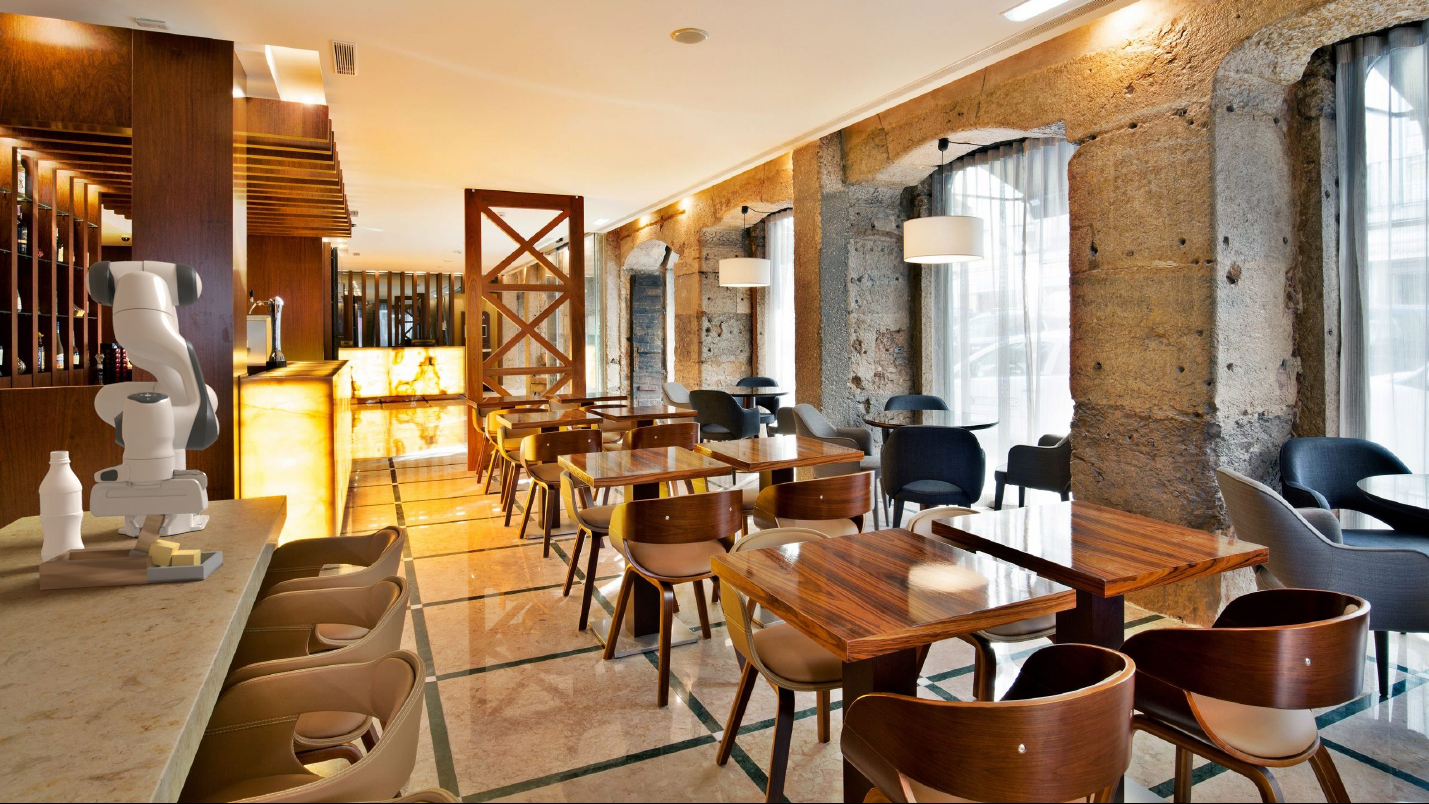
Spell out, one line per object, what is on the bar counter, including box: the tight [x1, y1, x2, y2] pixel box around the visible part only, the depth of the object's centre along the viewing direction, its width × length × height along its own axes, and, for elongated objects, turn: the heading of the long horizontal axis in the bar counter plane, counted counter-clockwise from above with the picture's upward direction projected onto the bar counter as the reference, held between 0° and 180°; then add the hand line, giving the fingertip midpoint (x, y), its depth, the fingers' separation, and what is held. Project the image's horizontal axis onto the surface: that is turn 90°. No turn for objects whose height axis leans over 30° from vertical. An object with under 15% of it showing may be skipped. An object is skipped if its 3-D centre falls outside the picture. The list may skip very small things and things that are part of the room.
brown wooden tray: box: [38, 545, 166, 591], centre depth 157 cm, size 12×18×5 cm, turn 107°
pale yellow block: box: [148, 539, 181, 567], centre depth 159 cm, size 4×4×4 cm
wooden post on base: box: [128, 515, 166, 557], centre depth 158 cm, size 6×3×10 cm, turn 17°
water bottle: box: [38, 450, 85, 563], centre depth 165 cm, size 7×7×25 cm
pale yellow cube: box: [172, 549, 202, 567], centre depth 161 cm, size 4×4×4 cm
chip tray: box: [146, 550, 224, 584], centre depth 161 cm, size 12×10×3 cm
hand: (151, 535), depth 159 cm, fingers closed on wooden post on base, 3 cm apart
